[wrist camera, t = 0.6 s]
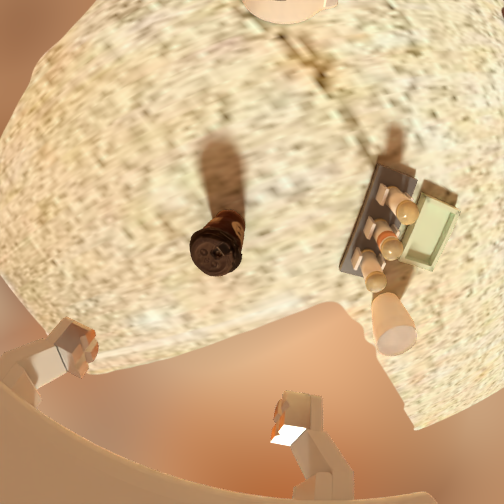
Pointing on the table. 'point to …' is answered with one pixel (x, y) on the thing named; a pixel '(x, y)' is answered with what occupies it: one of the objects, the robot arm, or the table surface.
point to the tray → (428, 232)
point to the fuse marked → (387, 240)
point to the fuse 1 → (372, 271)
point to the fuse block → (375, 217)
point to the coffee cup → (219, 244)
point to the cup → (392, 325)
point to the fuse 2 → (401, 206)
